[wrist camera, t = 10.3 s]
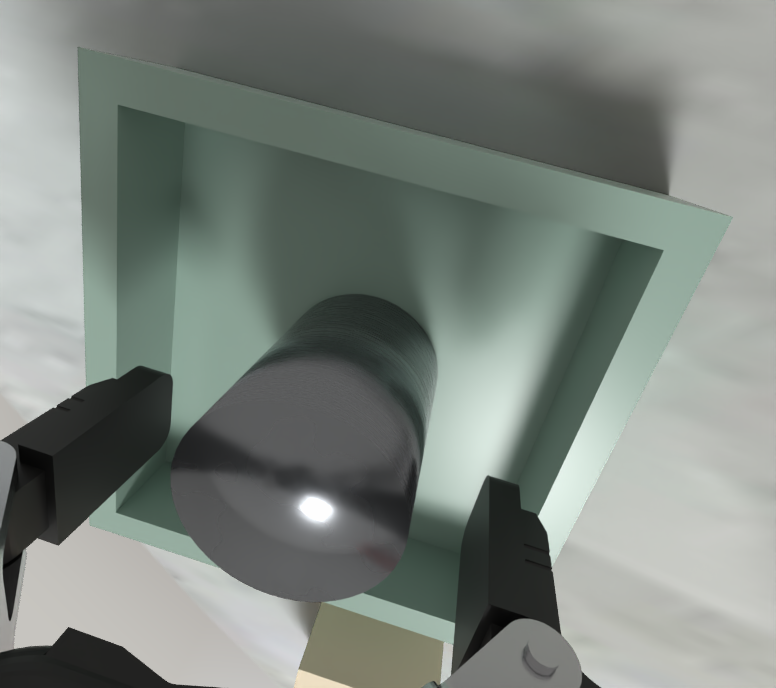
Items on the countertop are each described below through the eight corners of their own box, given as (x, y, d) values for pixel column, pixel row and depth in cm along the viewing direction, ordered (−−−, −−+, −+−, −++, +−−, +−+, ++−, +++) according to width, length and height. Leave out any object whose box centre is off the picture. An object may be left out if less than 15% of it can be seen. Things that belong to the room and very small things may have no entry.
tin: (457, 319, 16) (439, 446, 9) (415, 452, 18) (377, 630, 11) (298, 275, 16) (176, 368, 10) (276, 410, 18) (165, 560, 12)
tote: (669, 195, 14) (733, 216, 11) (499, 566, 20) (503, 661, 17) (175, 67, 15) (77, 46, 12) (156, 458, 21) (89, 525, 18)
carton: (447, 594, 22) (437, 716, 17) (413, 679, 24) (396, 805, 20) (336, 558, 22) (298, 669, 17) (314, 645, 24) (275, 762, 20)
